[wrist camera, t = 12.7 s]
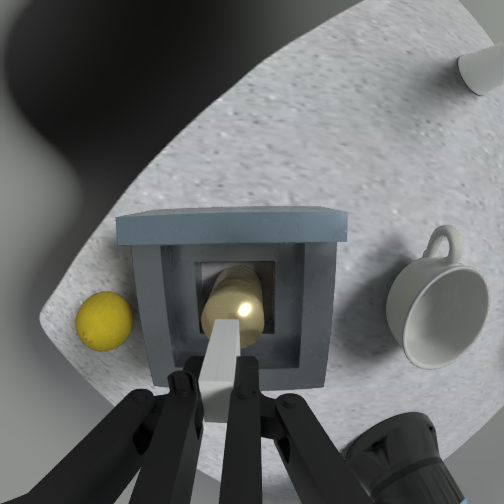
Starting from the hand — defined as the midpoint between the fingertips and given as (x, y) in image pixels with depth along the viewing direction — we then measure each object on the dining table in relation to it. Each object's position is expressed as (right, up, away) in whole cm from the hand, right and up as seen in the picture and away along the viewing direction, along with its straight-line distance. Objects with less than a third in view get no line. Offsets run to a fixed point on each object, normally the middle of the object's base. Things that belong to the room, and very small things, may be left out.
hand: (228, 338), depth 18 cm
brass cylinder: (0, +2, +10) cm, 11 cm away
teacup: (+20, +2, +10) cm, 23 cm away
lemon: (-13, 0, +11) cm, 17 cm away
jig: (0, +2, +10) cm, 10 cm away
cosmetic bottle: (+31, +29, +5) cm, 42 cm away
